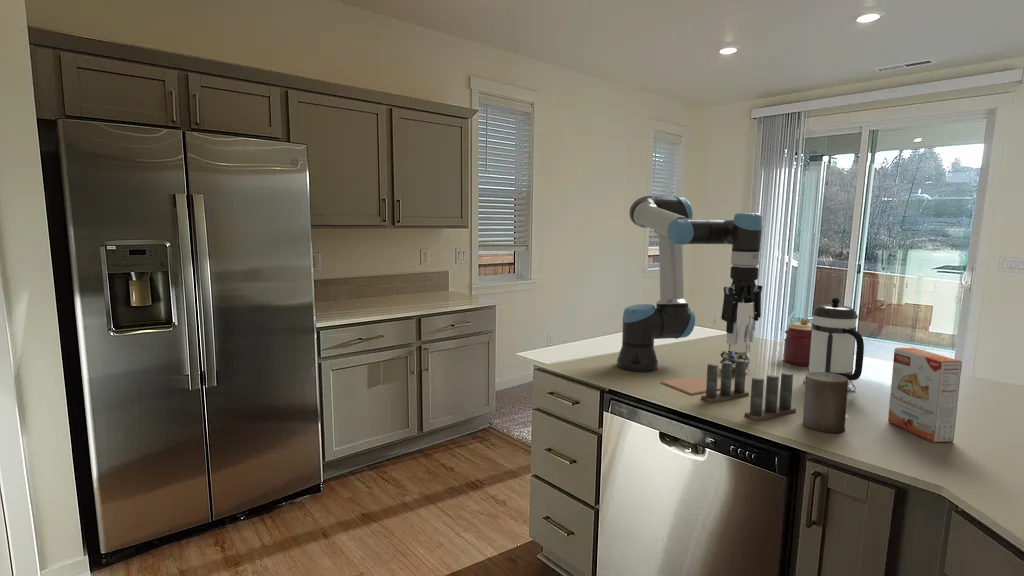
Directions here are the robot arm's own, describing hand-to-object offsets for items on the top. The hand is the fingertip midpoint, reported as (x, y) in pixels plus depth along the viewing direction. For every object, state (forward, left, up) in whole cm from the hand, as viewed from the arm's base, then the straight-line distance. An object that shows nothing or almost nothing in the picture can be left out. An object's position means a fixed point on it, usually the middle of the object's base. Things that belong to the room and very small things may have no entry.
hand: (739, 342), depth 154 cm
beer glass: (0, 0, -3) cm, 3 cm away
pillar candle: (+24, +5, -19) cm, 31 cm away
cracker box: (+37, +24, -19) cm, 48 cm away
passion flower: (-24, +26, -19) cm, 40 cm away
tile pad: (-17, -1, -18) cm, 25 cm away
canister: (-22, +61, -19) cm, 68 cm away
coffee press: (+4, +40, -19) cm, 44 cm away
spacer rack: (+4, 0, -18) cm, 19 cm away
